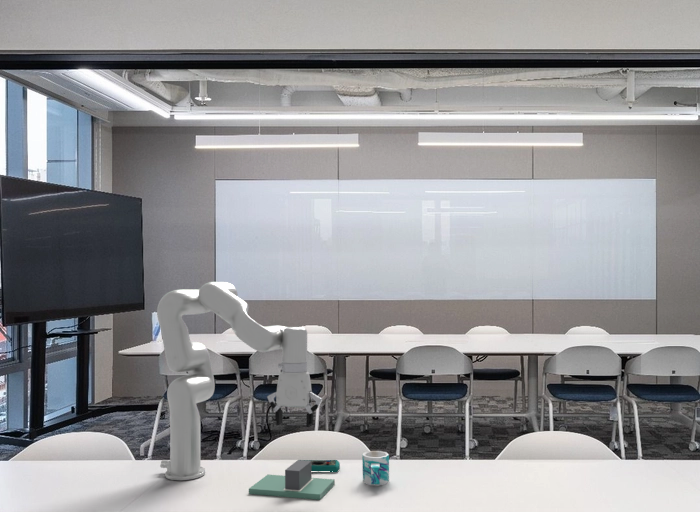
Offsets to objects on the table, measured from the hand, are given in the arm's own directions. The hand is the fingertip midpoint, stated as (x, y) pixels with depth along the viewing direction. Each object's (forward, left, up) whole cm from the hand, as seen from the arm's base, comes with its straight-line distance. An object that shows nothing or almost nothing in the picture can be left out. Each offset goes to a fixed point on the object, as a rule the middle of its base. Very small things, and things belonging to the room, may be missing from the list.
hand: (294, 425), depth 186 cm
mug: (+23, +10, -19) cm, 31 cm away
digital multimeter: (0, +20, -19) cm, 28 cm away
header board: (0, -1, -19) cm, 19 cm away
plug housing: (+2, +1, -17) cm, 17 cm away
